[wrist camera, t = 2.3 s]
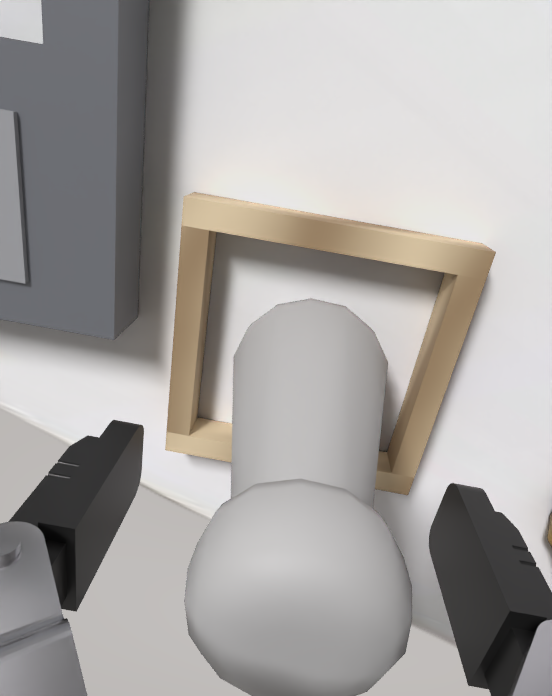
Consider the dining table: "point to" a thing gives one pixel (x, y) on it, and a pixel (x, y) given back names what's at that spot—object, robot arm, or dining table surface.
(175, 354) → the wooden square frame
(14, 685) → the robot arm
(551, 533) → the pastry
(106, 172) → the grey rectangular frame
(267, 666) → the salt shaker
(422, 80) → the dining table surface
